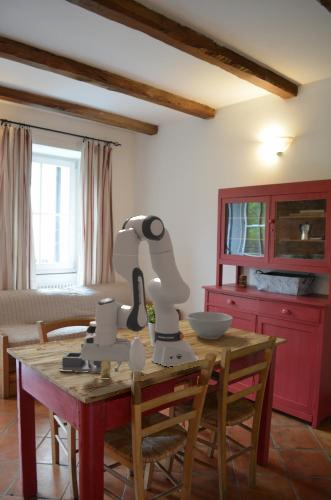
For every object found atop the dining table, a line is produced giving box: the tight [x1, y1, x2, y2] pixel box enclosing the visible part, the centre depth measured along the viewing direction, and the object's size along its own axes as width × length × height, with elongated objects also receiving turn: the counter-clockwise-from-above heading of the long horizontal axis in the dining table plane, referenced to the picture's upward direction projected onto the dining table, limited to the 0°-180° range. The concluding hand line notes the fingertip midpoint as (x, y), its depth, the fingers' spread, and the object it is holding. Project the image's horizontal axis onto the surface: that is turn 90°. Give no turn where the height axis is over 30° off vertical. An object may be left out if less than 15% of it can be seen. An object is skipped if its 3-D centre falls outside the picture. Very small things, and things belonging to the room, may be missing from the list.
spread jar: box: [85, 320, 96, 337], centre depth 208 cm, size 12×11×12 cm
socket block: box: [59, 351, 101, 372], centre depth 173 cm, size 18×12×6 cm, turn 87°
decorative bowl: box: [186, 311, 234, 340], centre depth 230 cm, size 27×27×12 cm
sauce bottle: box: [127, 332, 147, 372], centre depth 167 cm, size 8×8×18 cm
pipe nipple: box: [100, 360, 112, 379], centre depth 161 cm, size 4×4×8 cm
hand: (105, 371), depth 161 cm, fingers open, 8 cm apart
